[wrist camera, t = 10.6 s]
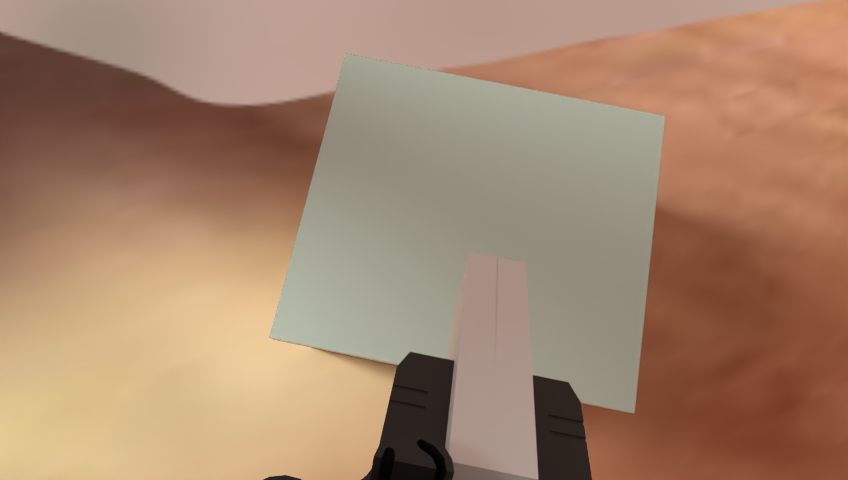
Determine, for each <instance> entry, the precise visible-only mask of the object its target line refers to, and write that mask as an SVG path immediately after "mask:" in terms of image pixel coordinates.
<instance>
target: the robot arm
mask: <svg viewBox="0 0 848 480" xmlns="http://www.w3.org/2000/svg"><path fill="white" fill-rule="evenodd" d="M585 438H586V436H585V430H584V425H583V416H582V409H581V402H580V400H579V398H578V397H577V395H576V394H575V392H574V390H573V389H572V387H571V385H570V384H569V382H565V381H560V380H555V379H550V378H545V377H540V376H535V375H533V374H532V356H531V338H530V320H529V302H528V284H527V267H526V263H524V262H519V261H514V260H509V259H504V258H499V257H494V256H489V255H484V254H479V253H474V252H469V253H468V258H467V262H466V266H465V270H464V275H463V279H462V283H461V287H460V292H459V296H458V300H457V304H456V309H455V313H454V317H453V321H452V326H451V330H450V336H449V344H448V352H447V359H444V358H439V357H434V356H429V355H424V354H419V353H414V352H409V353H408V355H407V356H406V357H405V358H404V359H403V360H402V361H401V362H400V363H399V365H398V366H397V369H396V374H395V378H394V383H393V387H392V391H391V396H390V400H389V405H388V409H387V413H386V418H385V422H384V427H383V431H382V436H381V440H380V444H379V447H378V449H377V451H376V453H375V455H374V459H373V465H372V469H371V470H370V472H369V473H368V474H367V476H365V477H364V478H363V479H362V480H592V477H591V471H590V464H589V457H588V450H587V443H586V442H585ZM264 480H301V479H299V478H294V477H290V476H286V475H284V476H273V477H268V478H266V479H264Z"/></svg>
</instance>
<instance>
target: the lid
mask: <svg viewBox="0 0 848 480" xmlns="http://www.w3.org/2000/svg"><path fill="white" fill-rule="evenodd" d="M664 122H665V116H663V115H658V114H653V113H648V112H643V111H638V110H633V109H628V108H622V107H617V106H612V105H607V104H602V103H597V102H592V101H587V100H582V99H576V98H571V97H566V96H561V95H556V94H551V93H546V92H541V91H536V90H531V89H525V88H520V87H515V86H510V85H505V84H500V83H495V82H490V81H485V80H480V79H474V78H469V77H464V76H459V75H454V74H449V73H444V72H439V71H434V70H428V69H423V68H418V67H413V66H408V65H403V64H398V63H392V62H387V61H382V60H377V59H372V58H367V57H362V56H357V55H352V54H347V53H346V55H345V58H344V62H343V65H342V69H341V73H340V76H339V80H338V84H337V88H336V91H335V95H334V99H333V102H332V106H331V110H330V114H329V117H328V121H327V125H326V129H325V132H324V136H323V140H322V143H321V147H320V151H319V155H318V158H317V162H316V166H315V169H314V173H313V177H312V181H311V184H310V188H309V192H308V196H307V199H306V203H305V207H304V210H303V214H302V218H301V222H300V225H299V229H298V233H297V237H296V240H295V244H294V248H293V251H292V255H291V259H290V263H289V266H288V270H287V274H286V277H285V281H284V285H283V289H282V292H281V296H280V300H279V304H278V307H277V311H276V315H275V318H274V322H273V326H272V330H271V333H270V337H269V338H271V339H274V340H278V341H283V342H288V343H293V344H298V345H303V346H307V347H312V348H317V349H322V350H327V351H331V352H336V353H341V354H346V355H351V356H356V357H360V358H365V359H370V360H375V361H380V362H384V363H389V364H394V365H399V363H400V362H401V361H402V360H403V359H404V358H405V357H406V356H407V355H408V353H409V352H414V353H419V354H424V355H429V356H434V357H439V358H444V359H447V352H448V344H449V336H450V330H451V326H452V321H453V317H454V313H455V309H456V304H457V300H458V296H459V292H460V287H461V283H462V279H463V275H464V270H465V266H466V262H467V258H468V253H469V252H474V253H479V254H484V255H489V256H494V257H499V258H504V259H509V260H514V261H519V262H524V263H526V267H527V284H528V302H529V320H530V338H531V356H532V374H533V375H535V376H540V377H545V378H550V379H555V380H560V381H565V382H569V384H570V385H571V387H572V389H573V390H574V392H575V394H576V395H577V397H578V398H579V400H580V402H581V403H582V404H587V405H592V406H596V407H601V408H606V409H611V410H616V411H620V412H625V413H635V404H636V394H637V384H638V375H639V365H640V355H641V345H642V336H643V326H644V316H645V307H646V297H647V287H648V277H649V268H650V258H651V248H652V239H653V229H654V219H655V209H656V200H657V190H658V180H659V171H660V161H661V151H662V141H663V132H664Z"/></svg>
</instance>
